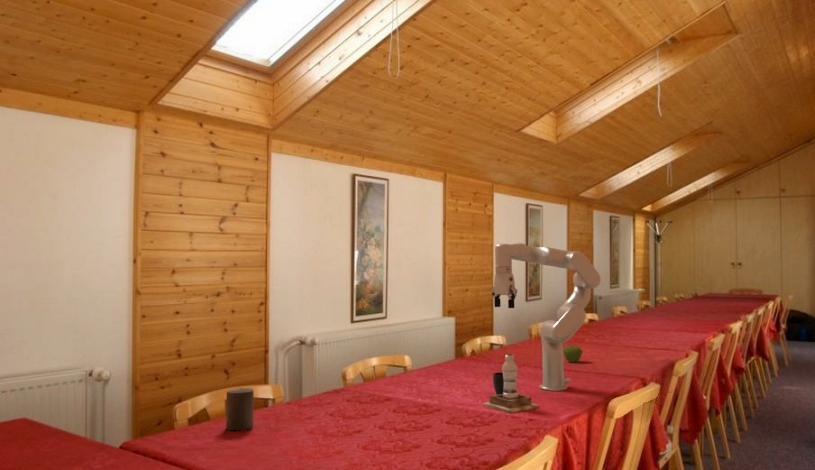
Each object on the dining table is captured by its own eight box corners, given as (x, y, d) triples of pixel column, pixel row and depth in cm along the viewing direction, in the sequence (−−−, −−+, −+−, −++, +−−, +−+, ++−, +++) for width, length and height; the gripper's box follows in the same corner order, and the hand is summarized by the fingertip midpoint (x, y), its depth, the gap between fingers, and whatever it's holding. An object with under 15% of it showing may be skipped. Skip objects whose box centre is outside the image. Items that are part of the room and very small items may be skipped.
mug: (508, 399, 267) (508, 377, 268) (489, 395, 277) (489, 373, 277) (522, 397, 272) (521, 375, 272) (502, 392, 282) (502, 371, 282)
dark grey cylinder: (239, 432, 221) (239, 390, 222) (220, 429, 226) (220, 387, 227) (259, 426, 229) (259, 385, 230) (240, 423, 234) (241, 383, 235)
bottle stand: (512, 400, 266) (512, 390, 266) (538, 407, 252) (538, 397, 253) (483, 405, 258) (483, 395, 258) (508, 413, 244) (508, 402, 244)
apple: (564, 363, 358) (563, 346, 358) (562, 360, 368) (562, 343, 369) (583, 363, 356) (582, 346, 356) (581, 360, 366) (580, 343, 367)
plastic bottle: (519, 402, 258) (518, 354, 258) (516, 406, 251) (515, 356, 252) (504, 401, 260) (503, 353, 261) (501, 405, 253) (500, 355, 254)
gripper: (522, 270, 282) (523, 308, 281) (497, 270, 297) (498, 306, 296) (509, 270, 278) (510, 309, 277) (485, 270, 293) (486, 306, 292)
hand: (504, 307), depth 287 cm, fingers open, 9 cm apart
